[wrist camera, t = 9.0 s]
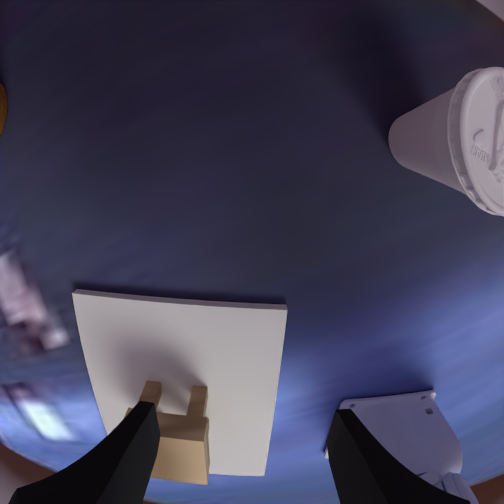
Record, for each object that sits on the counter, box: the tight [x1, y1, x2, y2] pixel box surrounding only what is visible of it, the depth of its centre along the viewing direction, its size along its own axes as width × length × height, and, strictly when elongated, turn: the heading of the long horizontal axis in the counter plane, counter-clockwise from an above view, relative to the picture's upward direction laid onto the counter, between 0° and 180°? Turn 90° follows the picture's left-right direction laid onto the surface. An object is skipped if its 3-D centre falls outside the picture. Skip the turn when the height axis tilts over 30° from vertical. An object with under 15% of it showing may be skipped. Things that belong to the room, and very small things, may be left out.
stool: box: [124, 380, 210, 485], centre depth 20 cm, size 5×5×6 cm
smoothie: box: [388, 67, 504, 216], centre depth 11 cm, size 6×6×14 cm
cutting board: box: [72, 289, 287, 476], centre depth 23 cm, size 15×19×1 cm
